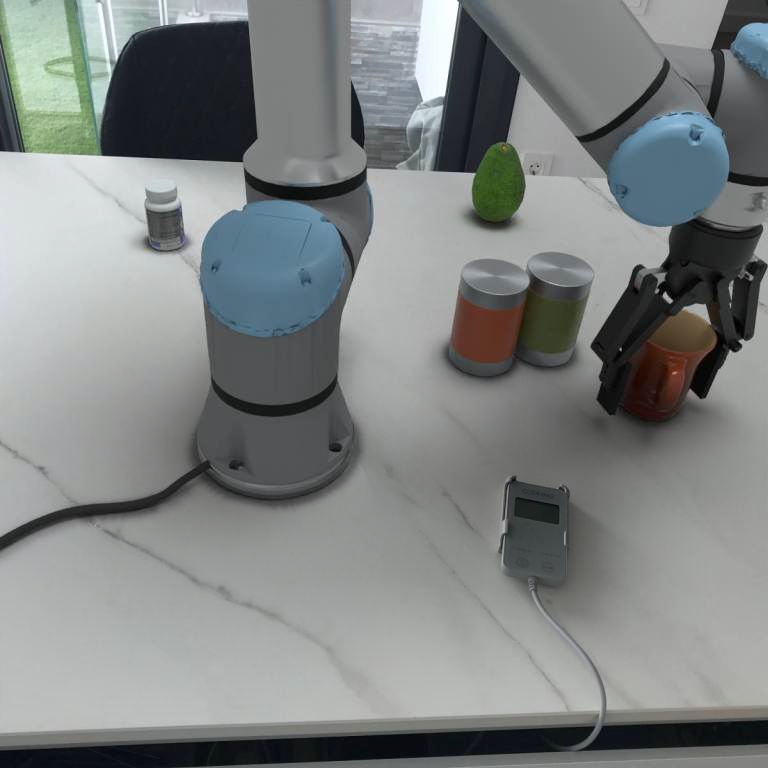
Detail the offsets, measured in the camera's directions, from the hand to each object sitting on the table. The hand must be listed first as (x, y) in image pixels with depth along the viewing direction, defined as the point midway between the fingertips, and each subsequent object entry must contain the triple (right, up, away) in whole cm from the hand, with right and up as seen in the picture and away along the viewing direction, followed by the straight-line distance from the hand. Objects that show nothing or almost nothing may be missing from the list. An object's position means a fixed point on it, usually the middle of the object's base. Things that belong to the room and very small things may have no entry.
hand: (651, 399), depth 84 cm
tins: (-14, +5, +8) cm, 17 cm away
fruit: (-12, +27, +34) cm, 45 cm away
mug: (0, -2, +1) cm, 2 cm away
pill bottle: (-58, +21, +22) cm, 66 cm away
